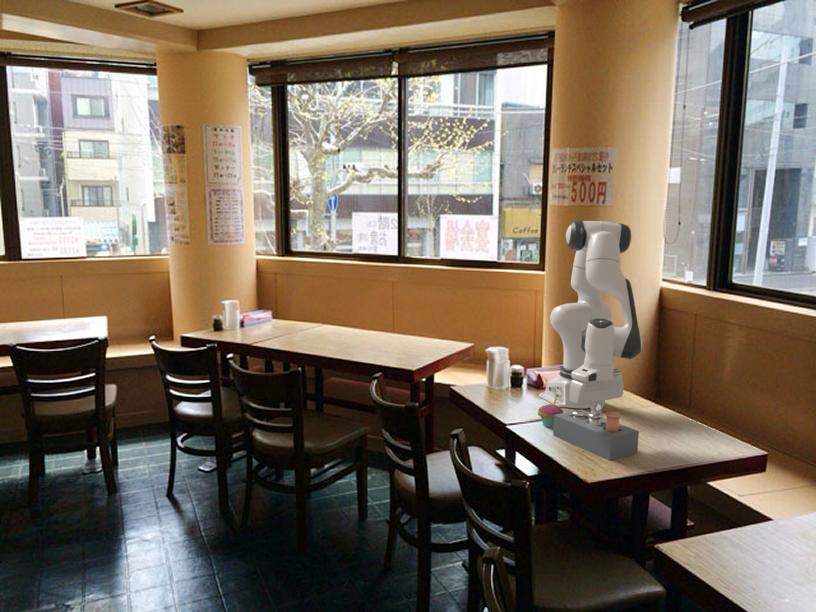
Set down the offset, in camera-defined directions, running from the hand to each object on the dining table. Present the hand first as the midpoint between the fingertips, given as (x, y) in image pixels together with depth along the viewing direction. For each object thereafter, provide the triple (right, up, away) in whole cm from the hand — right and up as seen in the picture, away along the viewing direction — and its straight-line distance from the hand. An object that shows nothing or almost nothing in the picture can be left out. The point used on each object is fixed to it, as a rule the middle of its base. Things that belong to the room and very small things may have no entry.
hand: (596, 414), depth 201 cm
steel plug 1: (-4, -8, +8) cm, 12 cm away
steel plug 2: (0, -8, +1) cm, 8 cm away
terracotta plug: (+3, -6, -5) cm, 9 cm away
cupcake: (-10, -7, +19) cm, 23 cm away
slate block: (0, -10, +2) cm, 10 cm away
